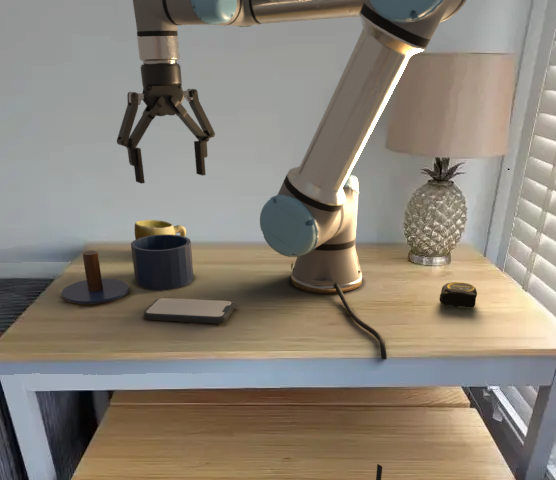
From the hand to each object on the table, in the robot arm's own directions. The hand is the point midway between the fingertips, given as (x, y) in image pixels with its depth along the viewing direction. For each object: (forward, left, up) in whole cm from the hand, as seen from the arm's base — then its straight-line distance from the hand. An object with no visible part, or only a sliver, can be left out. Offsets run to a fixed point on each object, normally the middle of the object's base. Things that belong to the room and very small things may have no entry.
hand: (171, 178), depth 126 cm
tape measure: (-45, -39, -22) cm, 64 cm away
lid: (+1, +19, -21) cm, 28 cm away
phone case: (-19, +7, -22) cm, 30 cm away
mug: (+19, -4, -22) cm, 29 cm away
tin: (+2, +3, -22) cm, 22 cm away
